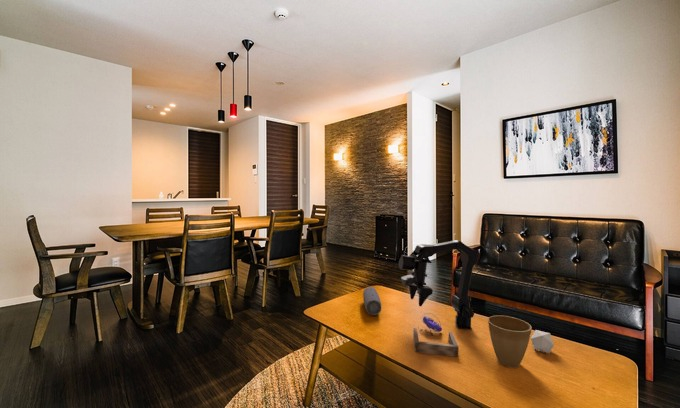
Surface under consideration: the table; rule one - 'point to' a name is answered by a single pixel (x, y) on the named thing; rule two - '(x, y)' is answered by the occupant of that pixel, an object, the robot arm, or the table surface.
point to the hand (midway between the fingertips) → (415, 302)
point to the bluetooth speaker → (372, 301)
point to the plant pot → (509, 339)
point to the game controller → (431, 324)
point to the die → (542, 341)
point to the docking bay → (436, 346)
